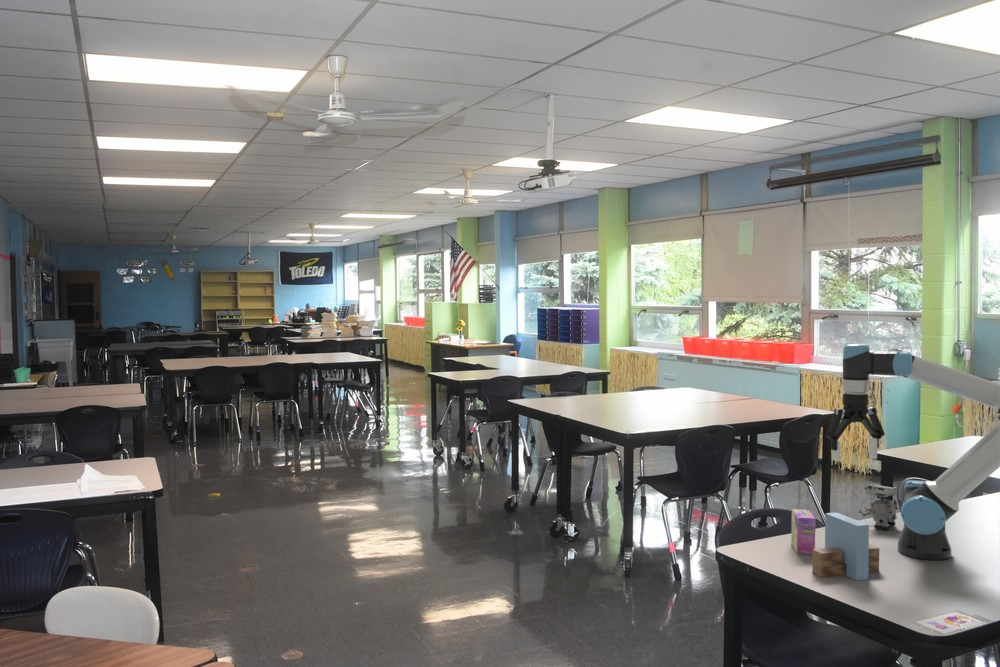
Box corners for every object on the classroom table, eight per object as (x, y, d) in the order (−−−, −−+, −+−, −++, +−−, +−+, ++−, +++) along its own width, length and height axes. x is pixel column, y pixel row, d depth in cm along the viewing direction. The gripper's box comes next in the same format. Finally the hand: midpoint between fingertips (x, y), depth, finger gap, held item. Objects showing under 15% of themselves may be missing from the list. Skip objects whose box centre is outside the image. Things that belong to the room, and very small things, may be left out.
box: (815, 554, 245) (815, 518, 244) (796, 553, 246) (797, 517, 245) (809, 544, 255) (809, 509, 254) (791, 543, 256) (791, 508, 256)
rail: (869, 566, 233) (869, 544, 232) (879, 571, 229) (879, 548, 228) (812, 572, 228) (812, 549, 228) (821, 577, 224) (821, 553, 224)
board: (824, 564, 235) (825, 513, 234) (836, 563, 236) (836, 512, 235) (856, 580, 221) (857, 525, 220) (868, 579, 222) (868, 524, 221)
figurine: (866, 521, 283) (866, 480, 283) (900, 527, 275) (900, 485, 275) (857, 526, 276) (858, 484, 276) (891, 532, 269) (892, 490, 268)
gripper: (880, 390, 249) (879, 455, 250) (813, 392, 243) (813, 459, 244) (897, 392, 242) (896, 459, 243) (829, 395, 236) (828, 463, 237)
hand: (854, 459), depth 243 cm, fingers open, 13 cm apart
